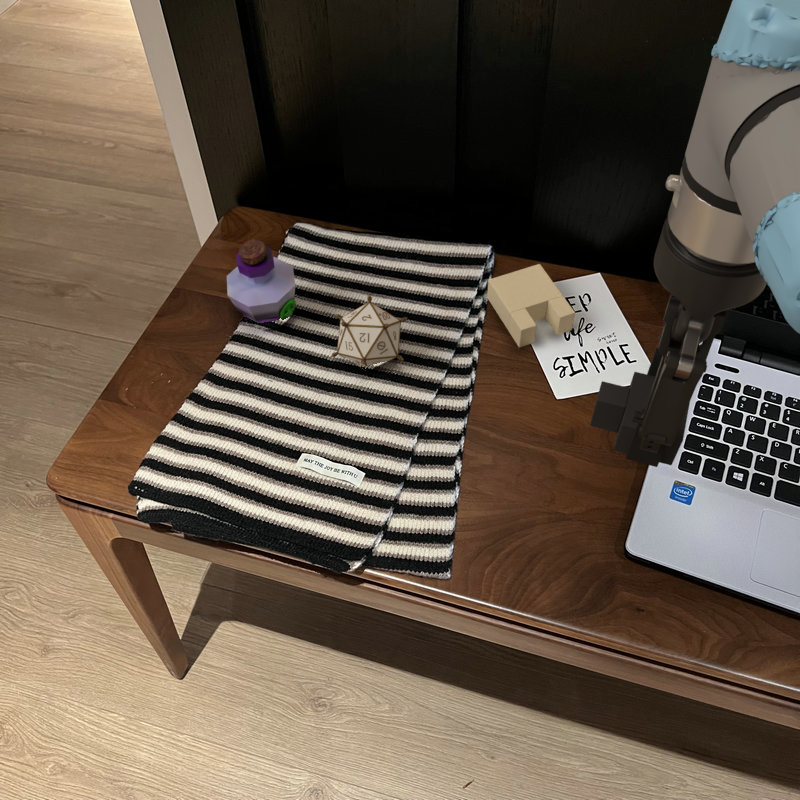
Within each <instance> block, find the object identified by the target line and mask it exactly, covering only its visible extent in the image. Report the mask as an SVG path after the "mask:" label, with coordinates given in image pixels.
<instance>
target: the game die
mask: <svg viewBox="0 0 800 800" xmlns="http://www.w3.org/2000/svg"><path fill="white" fill-rule="evenodd" d="M366 298H367V302H365V303H364V304H362V305H361V306H359V307H357V308H355V309H354V310H352V311H350V312H348V313H347V314H344V316H342V315H341V314H339V313H338V314H337V313H336V314H335V318H336V319H338V320H339V327H338V328H339V330H338V339H337V348H336V351H334V352H332V353H331V355H330V357H331V358H336V357H337V356H340V357H342V358H343V359H345V358H347V359H349V360H351V361H354V362H356V363H359V364H362V365H364V366H369V365H373V364H377V363H380V362H385V361H389V362H391V361H392V360H394V359H396V358H397V360H399V362H401V361H403V362H404V361H405V359H404V357H403V356H402V355H400V353H399V350H400V339H401V328H402V327H401V326H402V323H404V322H406V321H407V319H408V317H407V316H403V317H401V318H397V317H396V316H394V314H393V315H392V313H389V312H388V311H386V310H384V309H383V308H381V307H380V306H378V305H376V304H375V303H373V302H372V300H373V297H372V296H371V294H370V293H369V295H368V296H366ZM347 359H346V360H347ZM349 360H348V361H349ZM354 365H355V366H357V367H359V368H360V369H362V370H364V369H363V368H361V366H360V365H358V364H354ZM365 369H366V368H365Z"/></svg>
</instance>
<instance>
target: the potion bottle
mask: <svg viewBox="0 0 800 800" xmlns="http://www.w3.org/2000/svg"><path fill="white" fill-rule="evenodd" d="M226 291H227V293H226V294H227V297H228V299H229V300H230V301H231V303H232V304H233V306H234V307H235V309H236V310H237V311H238V313H240V314H242V315H243V317H244V318H245V317H247V318H249V319H251V320H253V321H255V322H257V323H264V322H269V321H276V320H279V319H280V318H281V319H282V320H284V319H286V318H288V317H289V316H290V315H291V316H292V315H293V313H294V312H295V311H296V304H297V302H296V300H295V293H296V279H295V272H294V266H293V265H292V264H290V263H287V262H285V261H283V260H282V259H279V258H278V257H275V256H274V253H273V249H272V248H270V247H268V246H266V244H265V242H264V241H263V240H260V239H255V238H254V239H250V240H247V241H245V242H243V243H242V245H241V246H240V247H239V248H238V253H236V267H235V268H234V269H233V270H232V271H230V272H229V273H228V274H227V275H226ZM245 320H246V321H247V319H246V318H245Z"/></svg>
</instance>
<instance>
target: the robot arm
mask: <svg viewBox="0 0 800 800" xmlns="http://www.w3.org/2000/svg"><path fill="white" fill-rule="evenodd" d="M710 55H711V57H712V58H711V62H710V65H709V68H708V72H707V75H706V78H705V79H706V80H705V83H704V86H703V89H702V93H701V97H700V100H699V104H698V107H697V111H696V115H695V118H694V121H693V125H692V127H691V131H690V135H689V139H688V142H687V147H686V150H685V153H684V156H683V160H682V164H681V168H680V172H679V175H678V174H669V176H667V179H666V181H665V188H666V189H667V190H668V191H670V192H673V196H672V199H671V201H670V202H671V203H670V205H669V209H668V212H667V217H666V218H665V220H664V223H663V226H662V228H661V233H660V236H659V239H658V243H657V246H656V250H655V253H654V257H653V269H654V273H655V275H656V277H657V280H658V282H659V283H660V284H661V285H662V287H663V288H664V289H665V290H666V291H667V292H668V293H669V298H668V301H667V304H666V308H665V311H664V315H663V319H662V321H663V328H662V332H660V335H659V336H658V339H657V341H658V348H657V347H656V348H655V350H654V352H653V355H652V359H651V362H650V364H649V367H648V370H647V373H646V374H647V375H651V376H655V380H654V383H653V387H652V390H651V393H650V396H649V399H648V402H647V405H646V408H645V409H642V411H641V412H640V411H636V410H635V411H634V414H633V418H632V422H635V423H637V426H636V429H635V431H634V434H633V437H632V440H631V443H630V445H629V448H628V451H627V454H626V455H625V460H628V461H632V462H636V463H640V464H643V465H647V466H651V467H655V468H658V466H659V464H660V459H661V457H662V455H663V452H664V450H665V448H666V445H669V446H672V445H673V442H675V439H676V434H677V431H678V429H679V427H680V424H681V422H682V419H683V417H684V414H685V412H686V410H687V407H688V405H689V406H690V404H689V402H690V403H691V400H692V398H693V395H694V393H695V391H696V388H697V385H698V384H699V382H700V380H701V379H702V377H703V374H704V373H706V371H707V369H708V364H707V363H708V361H707V359H708V357H709V353H710V351H711V347H712V345H713V342H714V339H715V337H716V335H718V334H719V333H720V332H721V331H722V329H723V326H724V323H725V320H726V316H727V313H728V310H732V309H735V308H739V307H742V306H745V305H747V304H749V303H751V302H752V301H754V300H755V299H757V298H758V297H759V296H760V295H761V294H762V292H763V291H764V290H765V288H766V286H768V287H769V289H770V291H771V293H772V294H773V297H774V299H775V301H776V303H777V305H778V307H779V309H780V311H781V313H782V315H783V318H784V319H785V321H786V323H788V324H789V326H790V327H791V328H792V329H793V330H794V331H795V332H796V333H798V334H799V335H800V0H732V1H731V4H730V7H729V10H728V12H727V15H726V18H725V20H724V23H723V26H722V29H721V31H720V33H719V37H718V39H717V42H716V43H715V44H714V45H713V48H712V49H711V53H710Z"/></svg>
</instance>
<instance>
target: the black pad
mask: <svg viewBox="0 0 800 800" xmlns="http://www.w3.org/2000/svg"><path fill="white" fill-rule="evenodd" d="M654 380H655V376H651V375H647V373H643V372H638V371H634V372H633V375H632V378H631V382H630V383H629V384H630V385H629V387H627V386H625V385H619V384H616V383H612V382H607V381H603V380H602V381H601V383H600V386H599V390H598V393H597V397H596V400H595V404H594V408H593V412H592V415H591V419H590V424H589V426H590V427H594V428H597V429H601V430H604V431H607V432H612V433H617V434H616V437H615V438H616V439H615V443H614V447H613V451H615V452H618V453H622V454H626V455H627V451H628V448H629V445H630V443H631V440H632V437H633V434H634V431H635V429H636V426H637V423H635V422H632V418H633V414H634V411H635V410H636V411H640V412H641V411H642V409H645V408H646V405H647V402H648V399H649V396H650V393H651V390H652V387H653V383H654ZM690 403H691V401H690V402H689V405H688V407H687V410H686V412H685V414H684V417H683V419H682V422H681V424H680V427H679V429H678V431H677V434H676V439H675V442H673V445H672V446H669V445H666V448H665V450H664V452H663V455H662V457H661V459H660V462H659V464H664V465H667V466H673V463H674V462H675V458H676V457H677V454H678V452H679V451H680V448H681V446H682V443H683V442H684V437H685V431H686V425H687V420H688V414H689V409H690Z"/></svg>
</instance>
